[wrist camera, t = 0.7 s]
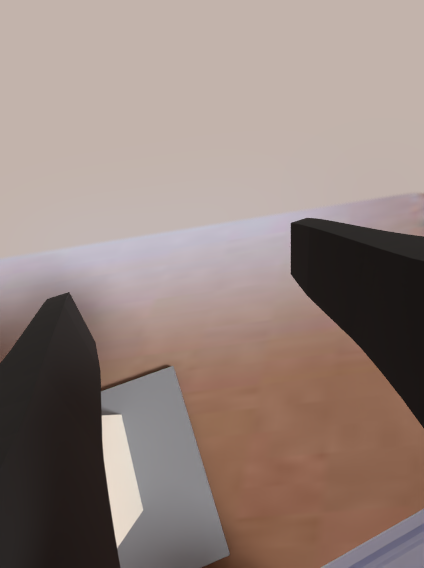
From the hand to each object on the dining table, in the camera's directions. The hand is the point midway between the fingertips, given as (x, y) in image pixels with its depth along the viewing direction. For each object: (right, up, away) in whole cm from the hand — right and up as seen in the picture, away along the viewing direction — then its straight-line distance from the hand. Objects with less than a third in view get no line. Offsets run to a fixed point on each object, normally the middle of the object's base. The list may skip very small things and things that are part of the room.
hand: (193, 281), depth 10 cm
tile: (-5, -12, +11) cm, 17 cm away
